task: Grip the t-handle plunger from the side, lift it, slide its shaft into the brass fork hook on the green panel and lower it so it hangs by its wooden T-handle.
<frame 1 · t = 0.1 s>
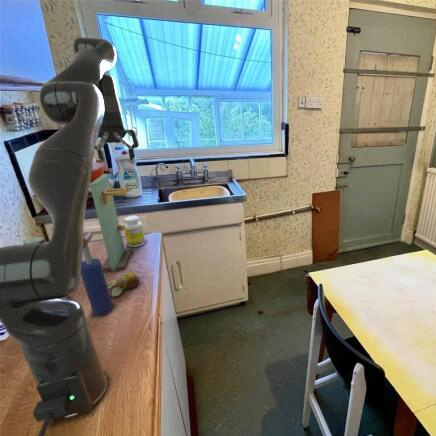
hand: (118, 160, 98), 33 cm above the table, tool pointing down, fingers open, 8 cm apart
t-handle plunger: (103, 310, 78), on the table
pill bottle: (136, 243, 113), on the table
fruit: (121, 287, 88), on the table
green panel: (132, 260, 102), on the table
sauce bottle: (55, 304, 80), on the table
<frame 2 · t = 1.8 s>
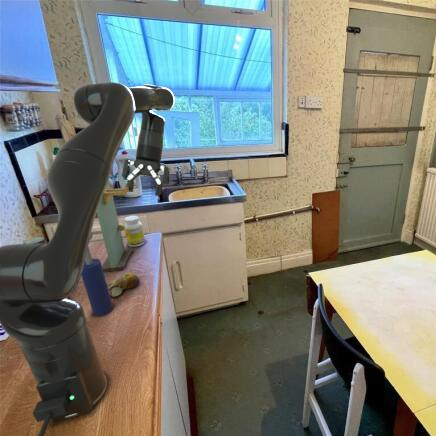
hand: (143, 193, 96), 24 cm above the table, tool tilted 25°, fingers open, 8 cm apart
nothing on the table moved.
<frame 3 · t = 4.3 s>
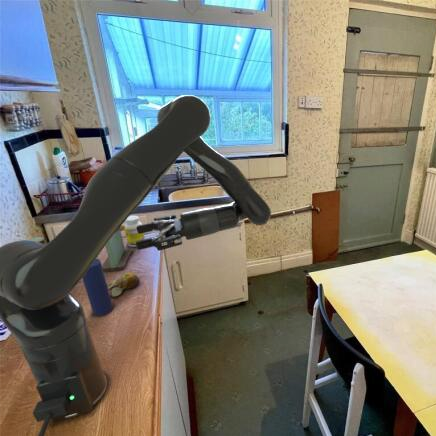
hand: (137, 237, 74), 21 cm above the table, tool horizontal, fingers open, 8 cm apart
nothing on the table moved.
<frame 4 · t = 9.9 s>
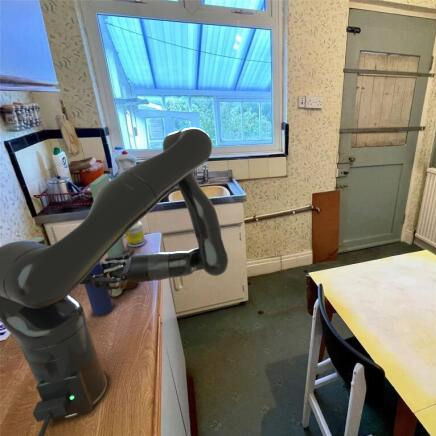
hand: (80, 274, 73), 12 cm above the table, tool horizontal, fingers closed on t-handle plunger, 4 cm apart
t-handle plunger: (103, 310, 78), on the table, touching gripper
everything else where it was.
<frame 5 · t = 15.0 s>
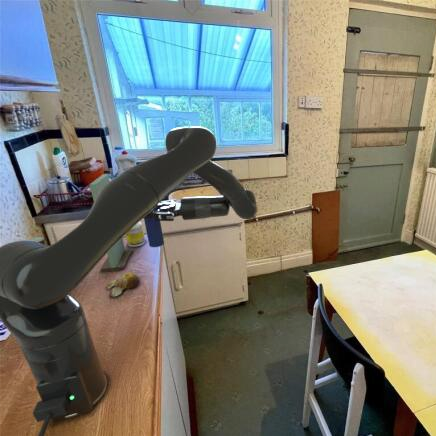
hand: (141, 211, 91), 20 cm above the table, tool horizontal, fingers closed on t-handle plunger, 4 cm apart
t-handle plunger: (156, 244, 97), point 8 cm above the table, touching gripper
everything else where it was.
when the fingers open (18 cm above the table, at t = 20.3 s): t-handle plunger stays where it is, resting on green panel.
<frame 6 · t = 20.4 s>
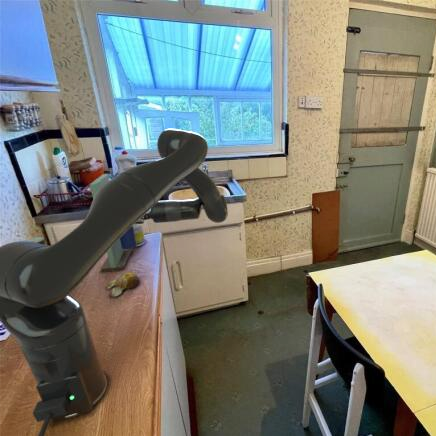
hand: (113, 214, 94), 18 cm above the table, tool horizontal, fingers open, 4 cm apart
t-handle plunger: (129, 245, 100), point 6 cm above the table, touching green panel
everything else where it was.
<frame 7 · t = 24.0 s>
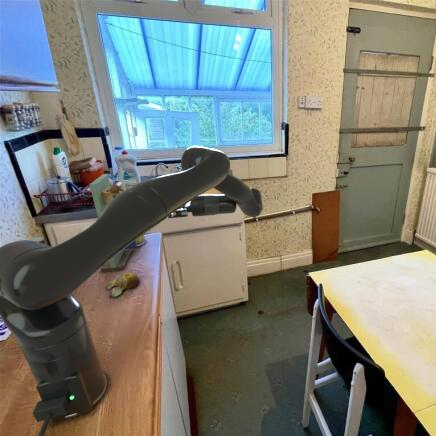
hand: (155, 207, 96), 20 cm above the table, tool horizontal, fingers open, 8 cm apart
nothing on the table moved.
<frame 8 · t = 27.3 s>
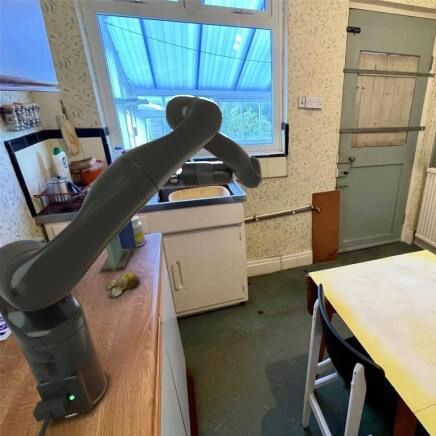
hand: (143, 175, 86), 32 cm above the table, tool horizontal, fingers open, 8 cm apart
nothing on the table moved.
at the end: t-handle plunger 0.1 cm off-centre on the green panel, point 5.7 cm above the green panel's base; t-handle plunger touching green panel; t-handle plunger tilted 0° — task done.
